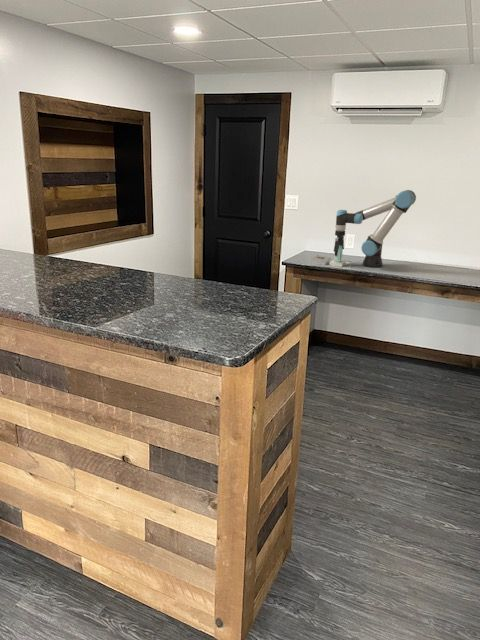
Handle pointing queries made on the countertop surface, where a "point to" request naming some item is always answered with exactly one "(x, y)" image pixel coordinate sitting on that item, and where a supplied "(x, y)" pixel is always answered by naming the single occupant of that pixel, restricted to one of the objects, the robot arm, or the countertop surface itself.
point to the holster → (337, 263)
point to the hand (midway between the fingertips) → (338, 258)
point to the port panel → (320, 260)
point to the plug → (339, 254)
